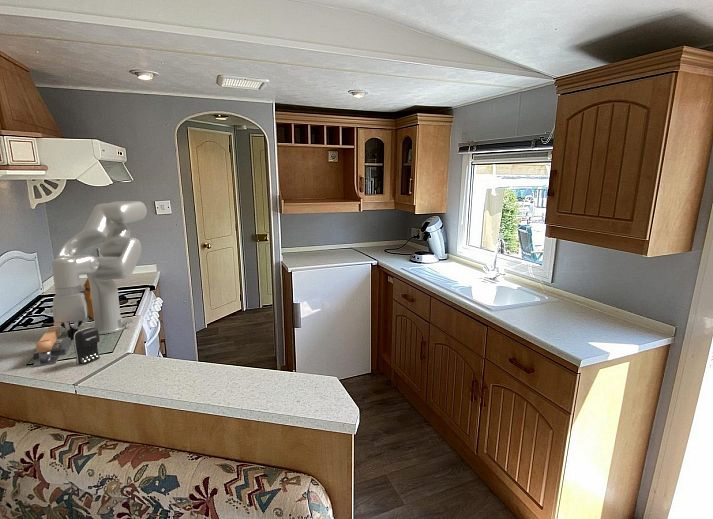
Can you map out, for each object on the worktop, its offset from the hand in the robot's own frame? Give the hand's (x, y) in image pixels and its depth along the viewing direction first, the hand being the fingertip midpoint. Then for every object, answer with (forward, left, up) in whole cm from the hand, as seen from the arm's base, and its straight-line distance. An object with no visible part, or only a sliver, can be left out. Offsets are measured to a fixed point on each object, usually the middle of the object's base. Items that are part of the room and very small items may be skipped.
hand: (73, 338), depth 144 cm
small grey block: (+6, +13, -3) cm, 15 cm away
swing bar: (+6, +5, +1) cm, 8 cm away
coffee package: (-4, -45, -3) cm, 45 cm away
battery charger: (-7, +20, -3) cm, 21 cm away
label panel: (+6, 0, -3) cm, 7 cm away
